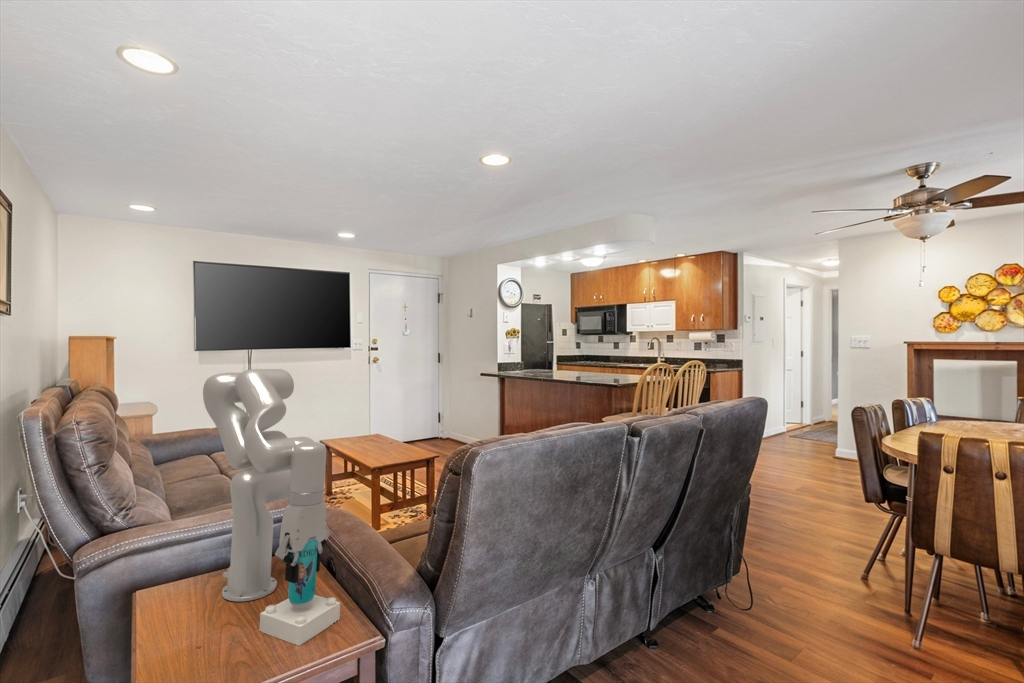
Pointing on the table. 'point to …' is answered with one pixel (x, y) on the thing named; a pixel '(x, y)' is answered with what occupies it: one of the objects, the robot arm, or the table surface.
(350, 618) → the table surface
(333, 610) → the brick
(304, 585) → the beverage can
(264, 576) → the robot arm
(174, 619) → the table surface
